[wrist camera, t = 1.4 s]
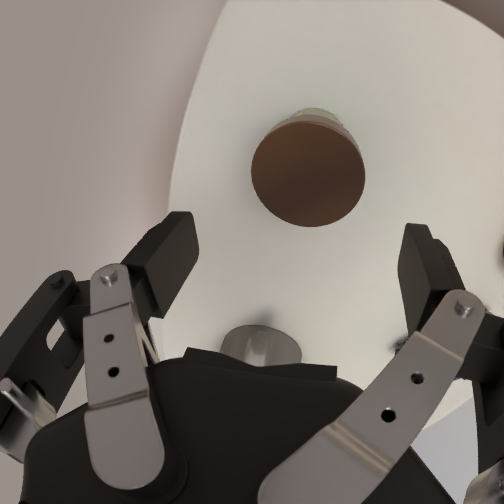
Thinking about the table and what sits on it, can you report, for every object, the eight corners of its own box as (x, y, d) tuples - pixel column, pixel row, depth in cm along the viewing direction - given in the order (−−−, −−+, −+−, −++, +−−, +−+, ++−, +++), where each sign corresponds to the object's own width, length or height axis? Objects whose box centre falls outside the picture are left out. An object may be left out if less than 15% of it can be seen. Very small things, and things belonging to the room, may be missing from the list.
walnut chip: (238, 146, 18) (228, 157, 16) (328, 95, 15) (328, 100, 13) (292, 225, 20) (288, 242, 18) (378, 186, 17) (383, 201, 15)
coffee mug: (285, 380, 41) (271, 444, 33) (217, 357, 41) (194, 420, 33) (327, 324, 33) (319, 406, 25) (240, 294, 33) (211, 372, 25)
